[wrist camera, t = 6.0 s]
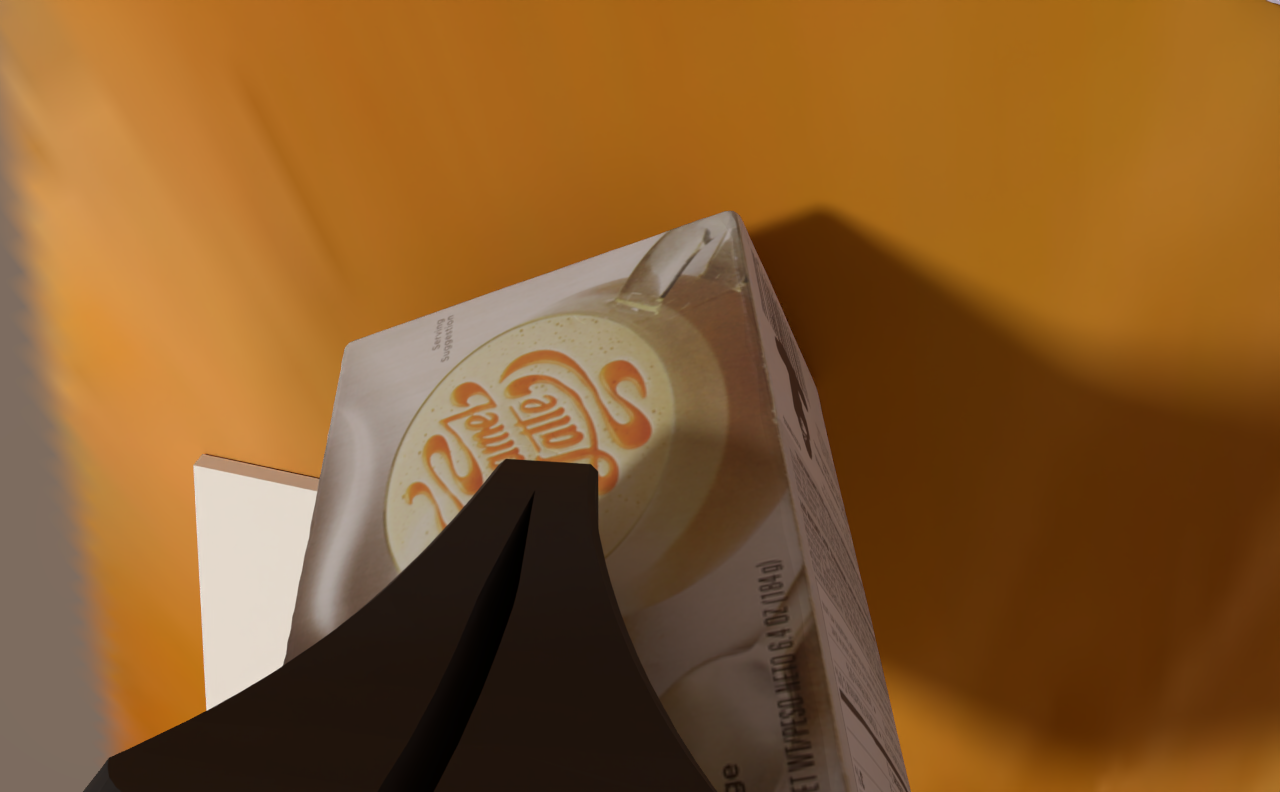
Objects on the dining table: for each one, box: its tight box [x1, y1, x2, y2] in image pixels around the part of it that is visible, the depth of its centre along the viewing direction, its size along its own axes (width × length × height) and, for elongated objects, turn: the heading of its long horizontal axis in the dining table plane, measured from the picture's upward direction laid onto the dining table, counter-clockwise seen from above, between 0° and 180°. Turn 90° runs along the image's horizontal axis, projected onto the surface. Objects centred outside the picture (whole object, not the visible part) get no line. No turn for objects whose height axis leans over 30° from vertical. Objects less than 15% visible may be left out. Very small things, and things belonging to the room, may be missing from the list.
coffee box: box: [283, 211, 911, 792], centre depth 16 cm, size 9×6×16 cm
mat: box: [194, 454, 319, 710], centre depth 30 cm, size 16×18×1 cm
